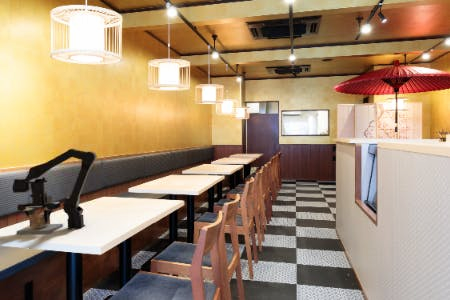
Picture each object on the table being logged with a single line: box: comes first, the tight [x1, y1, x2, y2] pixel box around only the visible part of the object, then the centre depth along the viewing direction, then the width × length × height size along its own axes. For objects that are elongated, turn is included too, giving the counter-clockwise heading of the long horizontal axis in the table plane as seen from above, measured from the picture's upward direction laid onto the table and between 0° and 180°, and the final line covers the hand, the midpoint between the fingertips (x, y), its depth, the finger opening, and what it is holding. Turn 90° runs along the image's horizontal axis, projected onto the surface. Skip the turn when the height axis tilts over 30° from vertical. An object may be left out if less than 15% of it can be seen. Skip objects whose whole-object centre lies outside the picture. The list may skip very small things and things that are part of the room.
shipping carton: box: [28, 211, 51, 227], centre depth 166 cm, size 6×6×6 cm
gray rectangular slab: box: [16, 223, 64, 235], centre depth 166 cm, size 16×12×2 cm
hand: (40, 223), depth 166 cm, fingers closed on shipping carton, 6 cm apart
